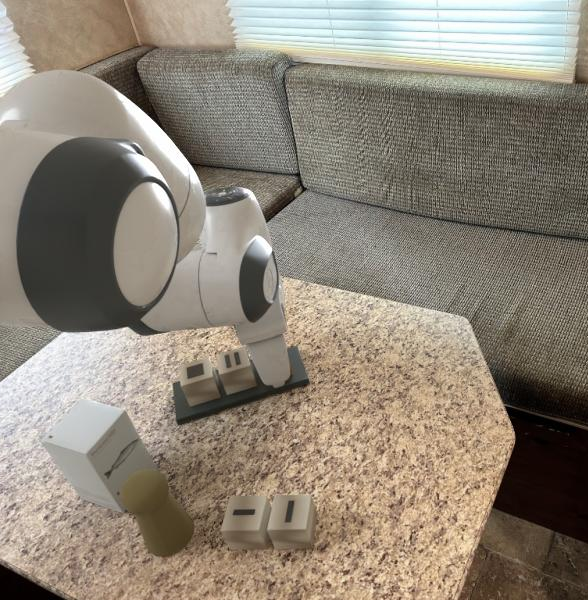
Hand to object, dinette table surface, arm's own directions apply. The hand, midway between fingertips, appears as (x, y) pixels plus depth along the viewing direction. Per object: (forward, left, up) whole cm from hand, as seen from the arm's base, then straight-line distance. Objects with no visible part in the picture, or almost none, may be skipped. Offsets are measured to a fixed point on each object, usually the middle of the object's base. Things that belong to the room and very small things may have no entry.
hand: (272, 362), depth 94 cm
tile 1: (-8, +8, -2) cm, 11 cm away
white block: (-21, -18, -3) cm, 28 cm away
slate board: (-4, +4, -3) cm, 6 cm away
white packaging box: (-25, +8, -3) cm, 26 cm away
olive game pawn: (-28, -4, -3) cm, 28 cm away
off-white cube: (-23, -13, -3) cm, 27 cm away
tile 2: (-4, +4, -2) cm, 6 cm away
